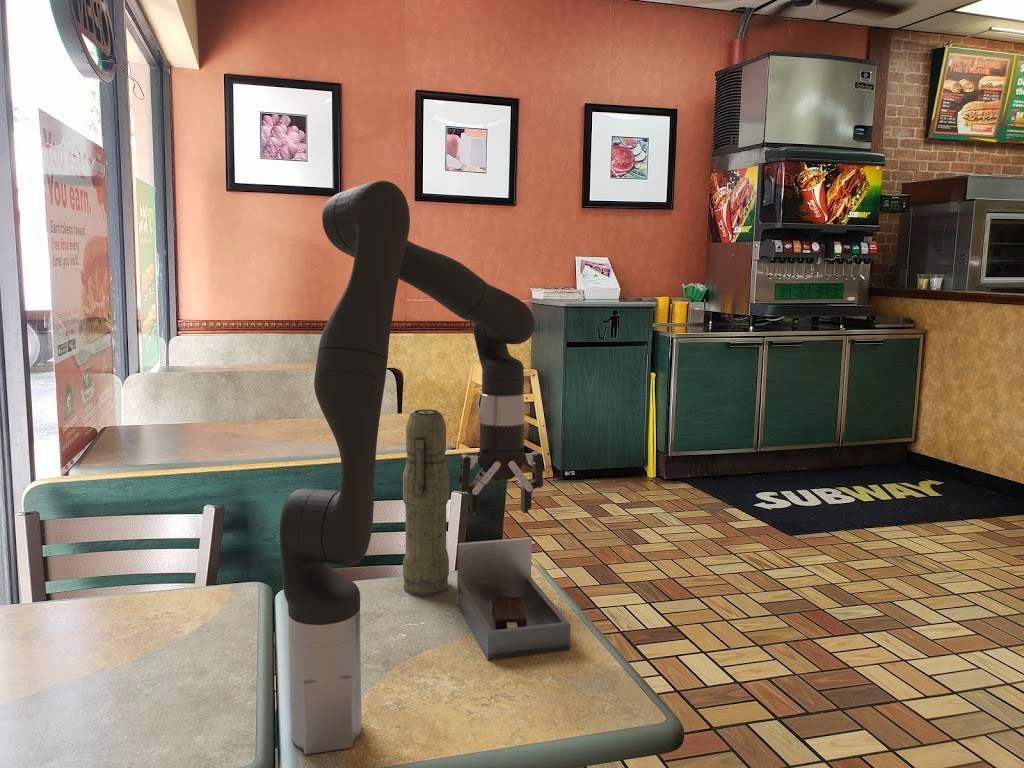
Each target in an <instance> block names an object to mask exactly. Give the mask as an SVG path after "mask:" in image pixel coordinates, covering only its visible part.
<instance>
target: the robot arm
mask: <svg viewBox="0 0 1024 768" xmlns="http://www.w3.org/2000/svg"><path fill="white" fill-rule="evenodd" d="M410 215H411V213H410V207H409V204H408V199H407V198H406V196H405V194H404V192H403V191H402V190H401V188H400V187H399V186H398V185H396V184H395V183H394V182H391V181H388V180H375V181H374V180H373V181H370V182H367V183H363V184H360V185H358V186H355V187H351V188H348V189H346V190H344V191H341V192H340V191H339V193H336V194H335V195H333V196H332V197H330V198H329V199H328V200H327V201H326V203H325V204H324V207H323V208H322V214H321V223H322V228H323V231H324V233H325V235H326V237H327V238H328V240H329V242H330V243H331V244H332V245H333V246H334V247H335V248H336V249H338V250H339V251H340V252H342V253H344V254H346V255H347V256H350V257H352V258H353V265H352V269H351V274H350V276H349V280H348V282H347V285H346V287H345V289H344V291H343V292H342V295H341V297H340V298H339V300H338V302H337V304H336V305H335V307H334V309H333V311H332V312H331V314H330V316H329V318H328V320H327V321H326V324H325V326H324V329H323V330H322V333H321V337H320V338H319V339H320V340H319V344H318V349H317V356H316V364H315V371H314V380H313V381H314V382H313V383H314V385H313V387H314V389H313V390H314V393H315V397H316V399H317V402H318V405H319V407H320V410H321V412H322V414H323V416H324V418H325V420H326V422H327V424H328V426H329V429H330V431H331V433H332V435H333V437H334V440H335V442H336V445H337V447H338V452H339V456H340V462H341V463H340V464H341V465H340V467H341V483H340V484H341V486H340V490H333V489H331V490H330V489H320V488H318V489H317V488H307V487H306V488H299V489H295V490H293V491H292V492H291V493H290V494H289V495H288V496H287V498H286V500H285V501H284V504H283V506H282V510H281V513H280V520H279V548H280V559H281V571H282V586H283V593H284V594H283V595H284V598H285V600H286V604H287V617H288V620H287V621H288V622H287V623H288V628H287V630H288V668H289V669H288V671H289V710H290V738H291V741H292V743H293V744H294V745H295V746H296V747H298V748H300V749H302V750H303V754H304V755H310V754H316V753H323V752H329V751H332V752H333V751H338V750H343V749H351V748H353V747H354V742H355V741H356V740H357V739H358V738H359V737H360V735H361V732H362V726H363V725H362V724H363V723H362V719H363V718H362V665H361V664H362V663H361V662H362V661H361V659H362V657H361V652H362V651H361V649H362V648H361V592H360V588H359V587H358V585H357V584H356V583H355V582H354V581H352V580H351V579H349V578H347V577H345V576H344V575H342V574H340V573H339V572H338V571H336V570H334V569H333V568H332V567H331V566H330V565H329V564H332V565H345V566H353V565H357V564H359V563H360V562H361V561H362V560H363V559H364V558H365V556H366V553H367V551H368V549H369V545H370V542H371V537H372V531H373V525H374V524H373V523H374V507H375V484H376V483H375V482H376V481H375V480H376V459H377V443H378V435H379V426H380V420H381V412H382V405H383V398H384V391H385V387H386V378H387V376H386V375H387V370H388V369H387V368H388V360H389V349H390V348H389V345H390V337H391V331H392V324H393V323H392V322H393V316H394V309H395V302H396V295H397V289H398V284H399V280H400V281H403V283H406V284H407V285H409V286H412V287H413V288H415V289H417V290H419V291H420V292H422V293H423V294H425V295H427V296H429V298H431V299H433V300H434V301H436V302H437V303H439V304H440V305H441V306H443V307H444V308H446V309H447V310H448V311H450V312H451V313H453V314H454V315H456V316H457V317H459V318H461V319H463V320H465V321H467V322H472V323H473V324H472V329H473V330H472V331H473V337H474V342H475V346H476V349H477V355H478V359H479V362H480V366H481V397H480V404H479V414H478V415H479V416H478V417H479V451H478V453H477V455H468V454H467V453H462V454H461V455H460V460H459V461H460V462H459V475H458V487H459V488H460V490H461V491H462V492H464V493H466V492H467V493H468V494H469V501H468V503H469V505H468V507H469V510H470V512H471V513H472V514H473V515H474V516H475V517H478V516H479V517H480V514H481V511H480V509H481V508H480V507H481V504H480V503H481V495H480V492H481V490H482V489H483V488H484V487H485V486H486V485H487V484H488V483H489V482H490V480H493V481H499V480H508V481H509V480H512V479H513V478H515V479H516V480H517V482H518V483H519V484H520V485H521V487H522V489H521V490H520V511H521V512H522V513H523V514H528V513H529V510H531V508H532V499H533V498H532V496H533V494H532V493H533V491H534V490H536V489H541V488H543V486H544V478H543V473H544V472H543V456H542V454H541V453H540V452H538V451H537V450H533V451H532V452H529V453H528V452H527V453H526V452H525V448H524V447H525V412H526V411H525V399H524V384H525V383H524V377H525V376H524V375H525V371H524V370H525V369H524V364H523V362H522V361H520V360H519V359H517V358H515V357H513V356H512V355H511V353H510V352H509V349H508V345H520V344H521V345H522V344H523V343H525V342H526V341H528V340H529V339H531V337H532V336H533V335H534V334H533V333H534V332H535V328H536V327H535V326H536V322H535V316H534V314H533V312H532V310H531V309H530V307H529V306H528V305H527V304H526V303H525V302H524V301H522V300H521V299H519V298H518V297H516V296H514V295H512V294H510V293H508V292H506V291H504V290H502V289H500V288H497V287H495V286H493V285H491V284H490V283H487V282H486V281H485V280H484V279H483V278H481V277H480V276H479V275H478V274H476V273H475V272H473V270H472V269H470V268H468V267H467V266H466V265H464V264H463V263H461V262H460V261H457V260H456V259H455V258H452V257H450V256H447V255H445V254H442V253H439V252H436V251H434V250H431V249H428V248H427V247H423V246H421V245H418V244H416V243H414V242H412V241H410V240H409V234H410V227H411V216H410ZM526 461H527V462H528V465H530V466H531V480H528V478H527V477H526V475H525V474H524V473H523V471H522V470H521V469H522V468H523V466H524V464H525V463H526ZM476 463H478V466H479V467H480V470H479V471H478V472H477V474H476V476H475V477H474V479H473V480H472V482H471V483H470V475H471V474H470V473H471V469H473V468H474V467H475V464H476Z"/></svg>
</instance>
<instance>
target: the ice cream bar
mask: <svg viewBox="0 0 1024 768" xmlns="http://www.w3.org/2000/svg"><path fill="white" fill-rule="evenodd" d="M493 611H494V617H495V623H496V627H507V629H509V628H517V627H526V626H527V619H526V615H525V611H524V607H523V603H522V599H521V598H520V597H508V596H495V597H494V598H493Z"/></svg>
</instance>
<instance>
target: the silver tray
mask: <svg viewBox="0 0 1024 768" xmlns="http://www.w3.org/2000/svg"><path fill="white" fill-rule="evenodd" d="M532 548H533V540H532V538H531V536H530V537H528V536H527V537H518V538H507V539H506V538H504V539H495V540H494V539H493V540H482V541H470V542H469V541H468V542H460V543H459V542H458V543H457V567H456V568H457V574H456V577H457V580H456V581H457V586H456V587H457V589H456V590H457V591H456V593H457V594H456V599H457V600H456V601H457V602H456V605H457V608H458V609H459V611H460V613H461V615H462V617H463V619H464V620H465V623H467V624H466V625H467V626H468V628H469V629H470V631H471V634H472V635H473V637H474V638H475V640H476V642H477V645H479V648H480V650H481V652H482V653H483V655H484V656H485V658H486V661H495V660H502V659H503V660H504V659H510V658H517V657H525V656H527V657H528V656H533V655H540V654H541V655H542V654H548V653H557V652H558V653H559V652H565V651H571V627H572V626H571V623H570V621H569V620H568V619H567V618H566V617H565V616H564V614H563V613H562V612H561V611H560V609H558V607H557V606H556V605H555V604H554V603H553V602H552V600H551V599H550V598H549V596H547V594H546V593H545V592H544V591H543V590H542V588H541V587H540V586H539V585H538V584H537V583H536V581H535V580H534V579H533V578H532V555H533V554H532V550H533V549H532ZM495 596H508V597H520V598H521V599H522V603H523V607H524V611H525V615H526V619H527V626H526V627H517V628H509V629H507V627H496V623H495V617H494V611H493V598H494V597H495Z"/></svg>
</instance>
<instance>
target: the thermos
mask: <svg viewBox="0 0 1024 768" xmlns="http://www.w3.org/2000/svg"><path fill="white" fill-rule="evenodd" d="M446 451H447V425H446V422H445V418H444V416H443V413H442V412H440V411H438V410H435V409H427V408H426V409H416V410H414V411H413V412H410V413H409V415H408V420H407V421H406V427H405V452H406V459H405V466H404V471H403V473H402V500H403V503H404V505H405V509H404V511H405V553H404V557H403V560H402V576H403V590H404V592H405V593H407V594H409V595H411V596H416V597H434V596H438V595H441V594H444V593H445V592H446V591H447V590H448V589H449V580H448V578H449V575H450V559H449V552H448V549H447V504H448V502H449V500H450V472H449V469H448V466H447V459H446Z"/></svg>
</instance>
